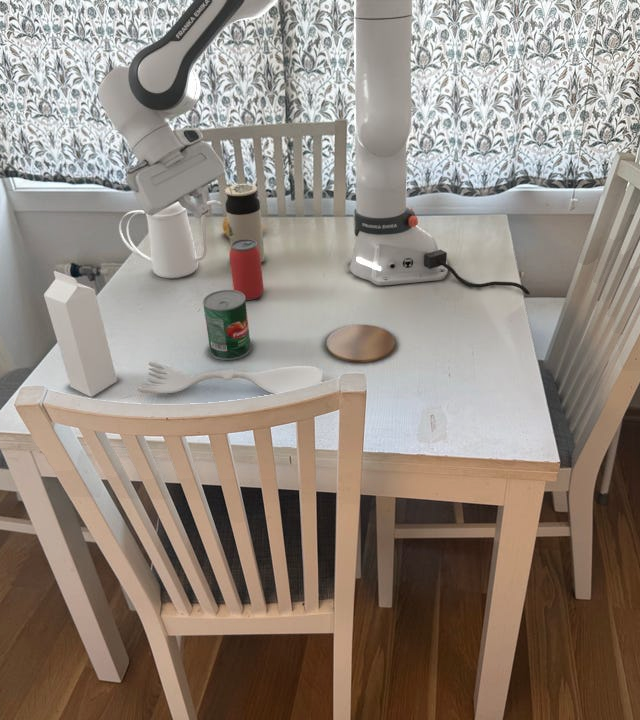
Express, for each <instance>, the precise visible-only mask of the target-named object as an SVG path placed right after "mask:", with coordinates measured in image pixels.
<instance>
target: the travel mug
mask: <svg viewBox="0 0 640 720" xmlns="http://www.w3.org/2000/svg"><path fill="white" fill-rule="evenodd" d="M257 191H258V187H257V185H255V184H252V183H236V184H233V185H230V186H227V187H225V189H224V193H225V194H226V201H225V212H226V218H227V221H228V230H229V237H228V238H229V246H230V247H231V244H232V243H233V242H235V241H237V240H242V239H250V240H254V241H256V243H257V246H258V248H259V250H260V256H261V263H263V262H264V261H265V259H266V256H265V247H264V246H265V245H264V236H263V232H262V224H263V222H262V212H261V211H262V210H261V201H260V199H259V198H258V196H257Z"/></svg>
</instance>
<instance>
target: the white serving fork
mask: <svg viewBox="0 0 640 720" xmlns="http://www.w3.org/2000/svg"><path fill="white" fill-rule="evenodd" d="M148 365H149V366H150V367H149V368H148V370H149V371H150V372H147V374H148V375H149V376H150V377H147V378H146V380H147V381H148V382H143V383H142V384H143V385H140V387H137V388H136V391H137V392H139V393H141V394H172V393H178V392H182V391H184V390H186V389H188V388H190V387H193V386H194V385H196V384H198V383H200V382H203V381H205V380H210V379H223V380H225V381H232V380H233V379H243V380H247V381H250V382H252V383H253V384H254V385H255V386H257V387H258V388H260V389H262V390H264V391H266V392H267V393H269V394H272V395H274V394H273V393H279V392H284V391H288V390H292V389H295V388H300V387H305V386H309V385H313V384H316V383H320V382H323V383H324V380H325V374H324V371H323V370H322V369H321V368H319V367H317V366H311V365H294V366H293V365H291V366H283V367H276V368H272V369H267V370H262V371H257V372H245V371H236V370H234V369H233V368H228V369H226V370H220V371H208V372H204V373H200V374H198V375H195V376H193V375H192V376H191V375H188V374H186V373H185V372H184V371H182V370H179V369H176V368H172V367H170V366H166V365H165V364H161V363H160V362H159V363H158V362H156V361H150V362H148Z"/></svg>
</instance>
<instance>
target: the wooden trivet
mask: <svg viewBox="0 0 640 720" xmlns="http://www.w3.org/2000/svg"><path fill="white" fill-rule="evenodd" d="M395 345H396V342H395V338H394V336H393V334H391V333H390V332H389V331H388V330H386V329H384V328H382V327H379V326H375V325H368V324H352V325H347V326H343V327H340V328H338V329H336V330H334V331H333V332H331V333H330V334H329V336H328V337H327V339H326V349H327V350H328V352H329V353H330V354H331V355H332V356H333V357H335V358H337V359H338V360H341V361H345V362H350V363H361V364H362V363H370V362H375V361H379V360H382V359H384V358H386V357H387V356H389V355H390V354H391V353H392V352H393V350H394V349H395Z"/></svg>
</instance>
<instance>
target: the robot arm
mask: <svg viewBox="0 0 640 720" xmlns="http://www.w3.org/2000/svg"><path fill="white" fill-rule="evenodd" d="M278 1H279V0H193V2H192V3H190V5H189V6H188V7H187V9H186V10H185V11H184V12H183V13H182V15H181V16H180V17H179V18H178V19H177V20H176V22H175V23H174V24H173V25H172V27H171V28H170V29H169V30H168V31H167V32H166V33H165V34H164V35H163V36H162V37H161V38H160V39H158V40H156V41H155V42H153V43H151V44H149V45H147V46H145V47H144V48H142V49H141V50H139V51H138V52H137V53H136V54H135V56H134V57H133V58H132V60H131V62H130V64H129V65H124V64H121V65H117V66H116V67H114V68H112V69H110V70H109V71H108V72H107V73H106V74H105V75H104V76H103V78H102V79H101V81H100V83H99V86H98V90H97V97H98V100H99V102H100V105H101V107H102V108H103V110H104V112H105V113H106V115H107V117H108V119H109V120H110V122H111V123H112V125H113V126H114V128H115V129H116V131H117V132H118V133H119V135H121V136H122V137H123V138H124V139H125V140H126V142H127V143H128V147H129V149H130V150H131V152H132V154H133V155H134V157H135V158H136V159H137V161H138V162H137V163H136V164H135V165H132V166H129V167H128V168H126V172H125V173H124V180H125V182H126V184H127V185H128V187H129V188H130V189H131V191H132V193H133V196H134V197H135V199H136V201H137V202H138V204H139V206H140V207H141V210H143V211H144V212H145V213H146V214H148V215H150V216H153V215H155V214H156V213H158V212H160V211H162V210H164V209H165V208H167V207H169V206H171V205H173V204H174V203H176V202H179V203H180V205H181V206H182V207H184V208H185V209H187V211H189V212H190V213H192V215H193V216H194V218H195V219H199V218H201V216H202V215H204V214H205V215H206V214H208V213H209V212H210V211H211V207H210V205H209V206H208V204H207V203H206V202H207V198H206V192H205V190H204V188H205V187H207V186H209V185H210V184H212V183H214V182H216V181H217V180H219V179H220V178H221V177H222V176H223V175H224V174H225V172H226V169H225V164H224V163H223V161H222V159H221V158H220V157H219V155H218V154H217V152H216V151H215V150H214V149H213V147H212V146H211V145H210V144H209V143H208V142H206V141H204V140H203V138H204V137H203V133H202V132H201V131H200V130H199V129H198V128H189V129H187V128H186V129H180V128H175V129H174V127H173V126H172V125H171V123H170V121H171V120H173V119H175V118H177V117H180V116H182V115H183V114H186V113H188V112H190V111H191V110H192V109H193V108H194V107H195V106H197V104H198V103H199V101H200V98H201V94H202V84H201V80H200V76H199V74H198V73H197V72H196V70H195V69H194V66H195V65H196V64H197V62H198V61H199V59H201V57H202V56H203V54H204V53H206V51H207V50H208V49H209V47H210V46H211V45H212V44H213V43H214V42H215V40H216V39H217V38H218V37H219V35H220V34H221V33H222V32H224V30H225V29H227V28H228V27H229V26H231V25H232V24H234V23H237V22H239V21H244V20H256V19H259V18H261V17H262V16H263V15H265V14H266V13H267V12H268V11H270V9H271V8H272V7H273V6H275V4H276V3H277V2H278ZM353 1H354V2H353V4H354V6H353V13H354V14H353V41H354V42H353V43H354V45H353V47H354V48H353V49H354V51H353V52H354V55H353V57H354V104H355V105H354V149H355V150H354V151H355V152H354V153H355V154H354V156H355V209H354V212H353V232H354V247H353V253H352V258H351V261H350V265H349V271H350V272H351V273H352V275H354V276H356V277H357V278H360V279H363V280H366V281H369V282H371V283H373V284H374V285H376V286H390V285H393V286H394V285H403V284H412V283H423V282H434V281H441V280H444V279H445V278H446V277H447V275H448V273H449V272H450V273H451V274H452V275H453V277H454V278H455V279H456V280H457V281H458V282H460V283H461V284H463V285H465V286H467V287H471V288H478V289H479V288H481V289H482V288H487V287H491V286H510V287H516V288H518V289H520V290H521V291H522V292H524V294H526V295H530V294H531V292H530V291H529V290H528V289H527V288H526V287H525V286H524V285H522V284H520V283H518V282H514V281H489V282H483V283H474V282H469V281H467V280H465V279H464V278H462V277H461V276H460V275H459V274H458V273H457V271H456V270H455V269H454V268H453V267H452V266H450V265H449V264H448V261H447V257H448V252H447V251H444V250H442V249H439V248H438V245H437V242H436V240H435V238H434V236H432V235H431V234H430V233H429V232H427V231H425V229H423V228H421V227H420V226H418V223H419V219H418V217H417V216H416V213H415V211H414V208H413V207H412V206H411V207H410V208H409V207H408V206H407V191H408V190H407V189H408V188H407V187H408V169H407V168H408V163H407V162H408V160H407V142H408V140H409V137H410V134H411V130H412V33H413V31H412V30H413V29H412V27H413V0H353ZM190 195H191V196H192V197H193V199H196V200H197V204H198V205H197V204H196V203H195V202H193V201H192V197H191V196H190ZM145 213H144V214H145ZM146 214H145V215H146Z"/></svg>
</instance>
